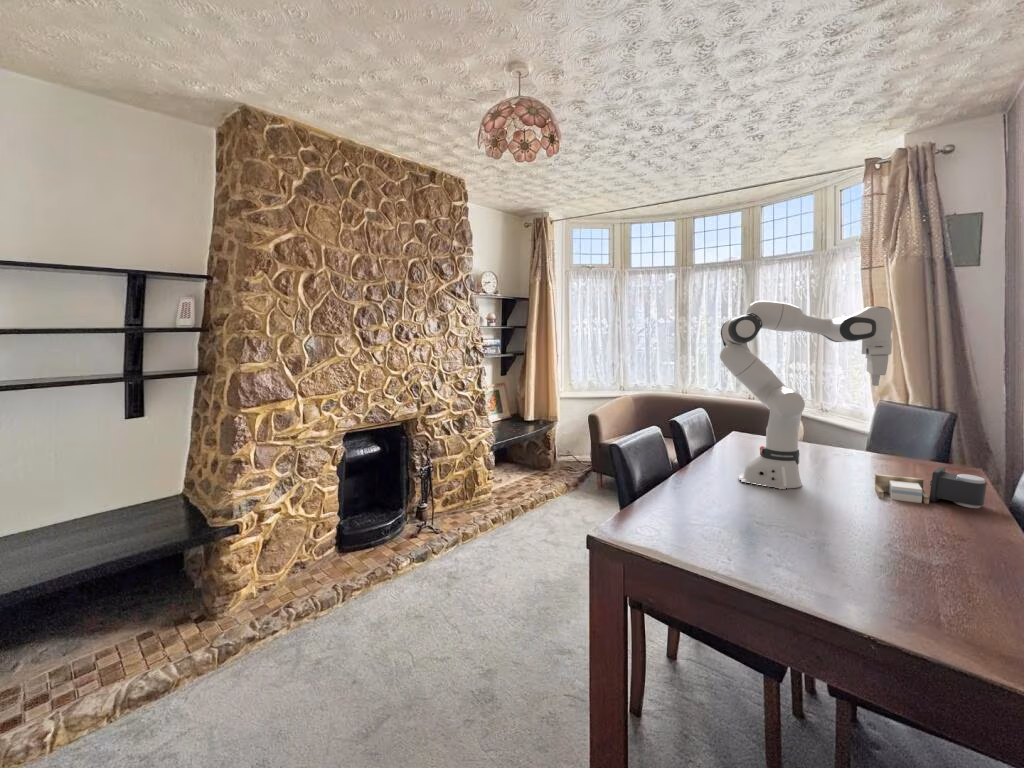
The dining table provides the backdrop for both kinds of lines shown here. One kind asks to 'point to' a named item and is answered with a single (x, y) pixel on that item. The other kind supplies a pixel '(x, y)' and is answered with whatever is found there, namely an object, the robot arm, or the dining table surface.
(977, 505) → the light fixture
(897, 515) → the dining table surface
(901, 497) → the carton
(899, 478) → the stand
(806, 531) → the dining table surface
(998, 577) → the dining table surface
